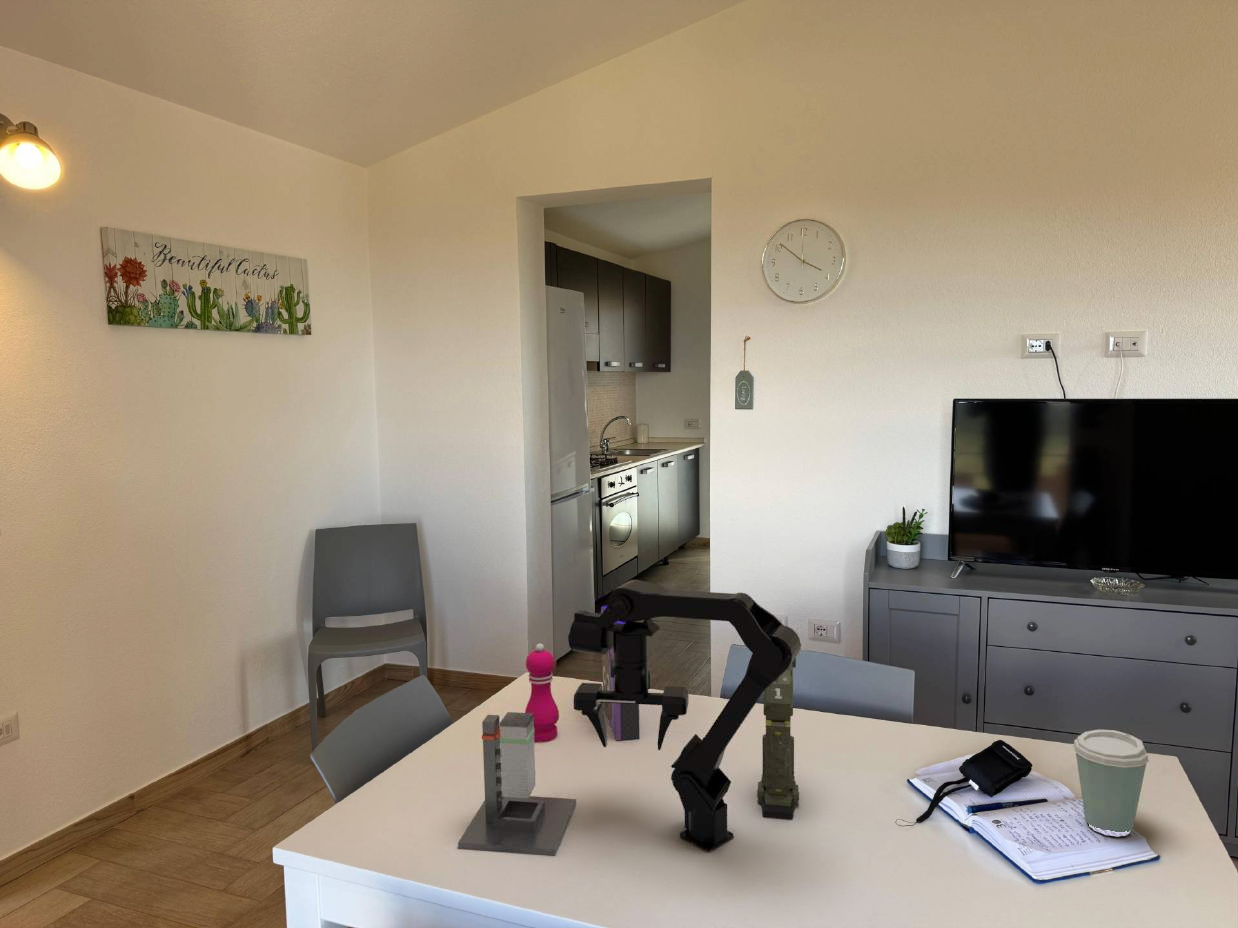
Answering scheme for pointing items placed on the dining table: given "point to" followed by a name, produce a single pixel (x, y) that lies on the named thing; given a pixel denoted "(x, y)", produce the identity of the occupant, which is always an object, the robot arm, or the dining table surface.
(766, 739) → the mechanical leg
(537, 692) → the pepper mill
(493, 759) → the grey square stand
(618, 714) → the cereal box
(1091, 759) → the disposable coffee cup
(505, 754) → the jack column
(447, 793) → the dining table surface
